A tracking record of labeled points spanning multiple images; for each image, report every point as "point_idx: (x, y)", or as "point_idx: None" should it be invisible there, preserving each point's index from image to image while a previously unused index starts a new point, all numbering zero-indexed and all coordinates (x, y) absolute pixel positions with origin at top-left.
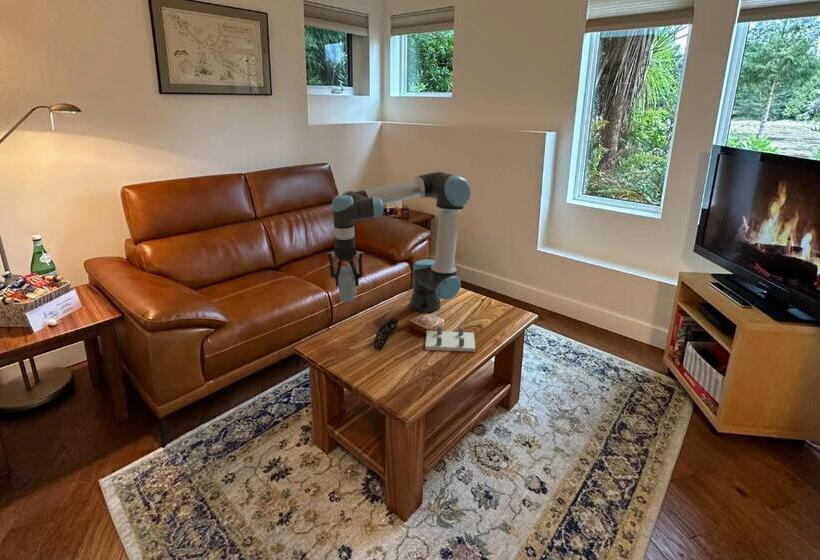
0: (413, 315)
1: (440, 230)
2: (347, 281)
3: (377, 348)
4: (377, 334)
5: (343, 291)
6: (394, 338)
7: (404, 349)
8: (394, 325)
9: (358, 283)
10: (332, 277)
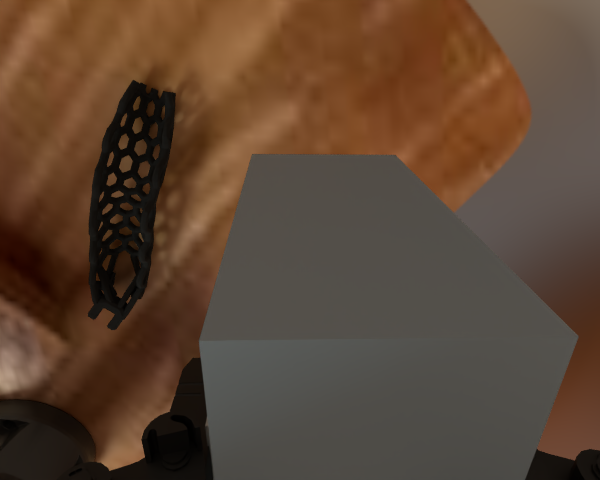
0: (61, 380)
1: None
2: (312, 277)
3: (160, 98)
4: (156, 165)
5: (370, 195)
6: (99, 199)
7: (24, 93)
8: (89, 259)
9: (180, 390)
10: (588, 453)
